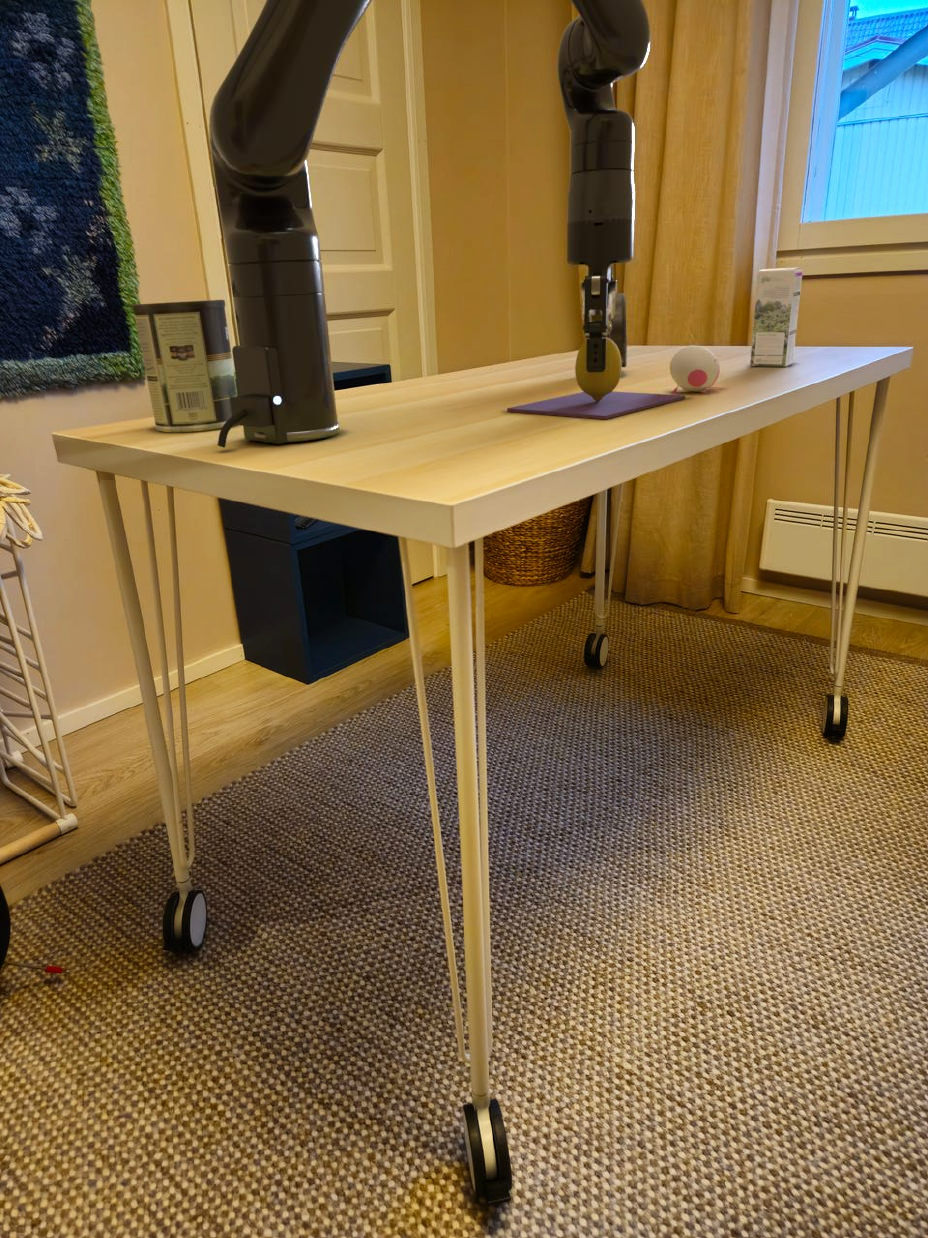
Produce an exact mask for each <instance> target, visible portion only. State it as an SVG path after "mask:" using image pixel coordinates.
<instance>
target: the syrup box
mask: <svg viewBox="0 0 928 1238" xmlns="http://www.w3.org/2000/svg"><path fill="white" fill-rule="evenodd" d="M802 281H803V268H802V267H800V266H799V267H778V268H762V269H759V270H757V275H756V287H755V288H756V289H755V301H754V311H753V312H754V313H753V325H752V336H751V349H750V361H749V365H750V367H788V366H791V365H792V364H794V360H795V359H794V358H795V348H796V347H795V346H796V335H797V327H798V316H799V310H800V309H799V307H800V301H801V300H800V299H801V292H802V291H801V290H802Z"/></svg>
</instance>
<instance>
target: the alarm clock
mask: <svg viewBox="0 0 928 1238" xmlns="http://www.w3.org/2000/svg"><path fill="white" fill-rule="evenodd" d="M613 265H614V264H613ZM613 265H612V266H611V268H610V269H611V275H613V269H614V266H613ZM626 306H627V305H626V294H625V293H624V292H622V293H617V296H616V297H615V315H614V317H613V318H612V319H613V323H612V329H611V332H608V333H610V339H611V340H612V341H613V342H614V343H615V344H616V345H617V347H618V349H619V352H620V356H621V362H622V368H626V367H627V365H628V362H627V361H628V358H627V357H628V349H627V348H628V345H627V344H628V342H627V340H628V339H627V314H626V313H627V308H626Z"/></svg>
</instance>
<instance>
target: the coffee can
mask: <svg viewBox="0 0 928 1238" xmlns="http://www.w3.org/2000/svg"><path fill="white" fill-rule="evenodd" d="M131 308H132V309H131V310H132V312H133V313H134V318H135V323H136V328H137V334H138V339H139V345H140V349H141V354H142V360H143V361H142V362H143V365H144V370H145V378H146V381H147V386H148V392H149V397H150V402H151V409H152V413H153V419H154V423H155V428H154V429H155V430H156V431H158V432H163V433H190V432H191V433H192V432H202V431H204V432H205V431H212V430H219V429H222V427H223V425H224V424H225V423H226V422H227V420H229V419H230V418H231V417H232V410H231V403H230V397H236V396H238V388H237V381H236V375H235V368H234V361H233V354H232V349H231V341H230V336H229V335H230V334H229V330H228V329H229V327H228V323H227V322H228V321H227V314H226V301H225V299H211V300H192V301H171V302H156V303H155V302H154V303H138V304H137V303H136V304H132V305H131Z"/></svg>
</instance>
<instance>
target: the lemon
mask: <svg viewBox="0 0 928 1238" xmlns="http://www.w3.org/2000/svg"><path fill="white" fill-rule="evenodd" d="M603 338H606V369H605V370H604V371H603V372H593V373H590V372H588V371H587V370H586V351H587V340H585V341H584V342H583V343H582V345H581V346H580V348H579V349H578V352H577V355H576V359H575V365H574V366H575V367H574V372H575V379H576V383H577V385H578V388H580V390H581V392H585V393H586V394H588V395H590V396H591V397H592V398H593V399H594V400H595V401H597V402H598V401H601V400H602V399H603V397H604V396H605V395H607V394H609V393H610V392H612V391H614V390H615V389H616V387H617V386H618V385H619V382H620V380H621V377H622V369H623V367H622V362H621V356H620V352H619V349H618V347H617V345H616V344H615V343H614V342H613V341H612V340H611V339H609V338H607V337H603Z"/></svg>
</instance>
